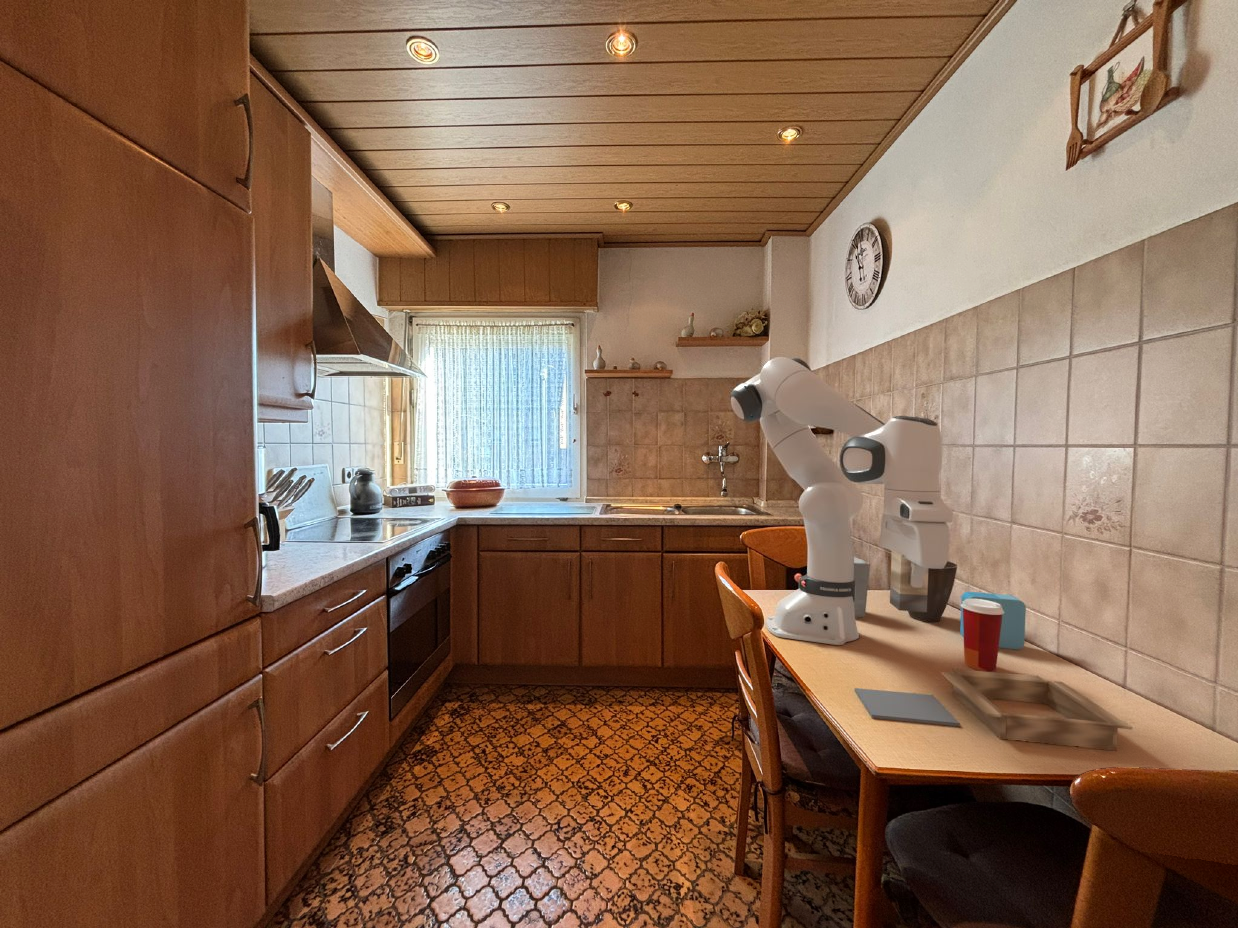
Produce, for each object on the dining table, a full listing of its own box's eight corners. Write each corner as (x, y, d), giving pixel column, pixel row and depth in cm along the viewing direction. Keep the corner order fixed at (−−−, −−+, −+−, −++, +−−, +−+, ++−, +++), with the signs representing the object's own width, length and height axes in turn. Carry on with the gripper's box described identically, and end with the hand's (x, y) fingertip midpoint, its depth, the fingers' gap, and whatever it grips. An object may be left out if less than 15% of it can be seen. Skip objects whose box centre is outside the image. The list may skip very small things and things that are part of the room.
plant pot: (883, 615, 144) (885, 559, 144) (908, 606, 153) (909, 554, 153) (941, 630, 132) (944, 570, 132) (964, 620, 141) (966, 563, 141)
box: (899, 610, 89) (901, 554, 89) (889, 602, 94) (891, 549, 93) (926, 612, 88) (928, 555, 88) (915, 604, 93) (917, 550, 93)
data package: (1016, 643, 124) (1018, 595, 123) (1024, 650, 120) (1026, 600, 119) (959, 637, 127) (961, 590, 127) (965, 643, 123) (967, 595, 123)
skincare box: (829, 608, 150) (831, 555, 149) (852, 607, 150) (854, 555, 150) (844, 617, 141) (846, 561, 141) (869, 617, 142) (871, 561, 141)
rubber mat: (871, 717, 88) (872, 714, 88) (854, 690, 98) (854, 687, 97) (959, 726, 85) (959, 722, 85) (932, 697, 95) (933, 694, 95)
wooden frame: (987, 738, 82) (988, 714, 82) (936, 687, 100) (937, 667, 99) (1132, 752, 79) (1134, 727, 78) (1053, 697, 96) (1054, 677, 96)
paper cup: (1004, 666, 110) (1006, 603, 110) (999, 677, 105) (1002, 610, 104) (961, 655, 116) (963, 595, 115) (955, 665, 110) (957, 602, 110)
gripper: (873, 499, 101) (870, 567, 102) (915, 511, 81) (912, 596, 81) (906, 500, 100) (904, 569, 101) (958, 513, 80) (955, 599, 80)
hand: (908, 582), depth 91 cm, fingers closed on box, 4 cm apart
